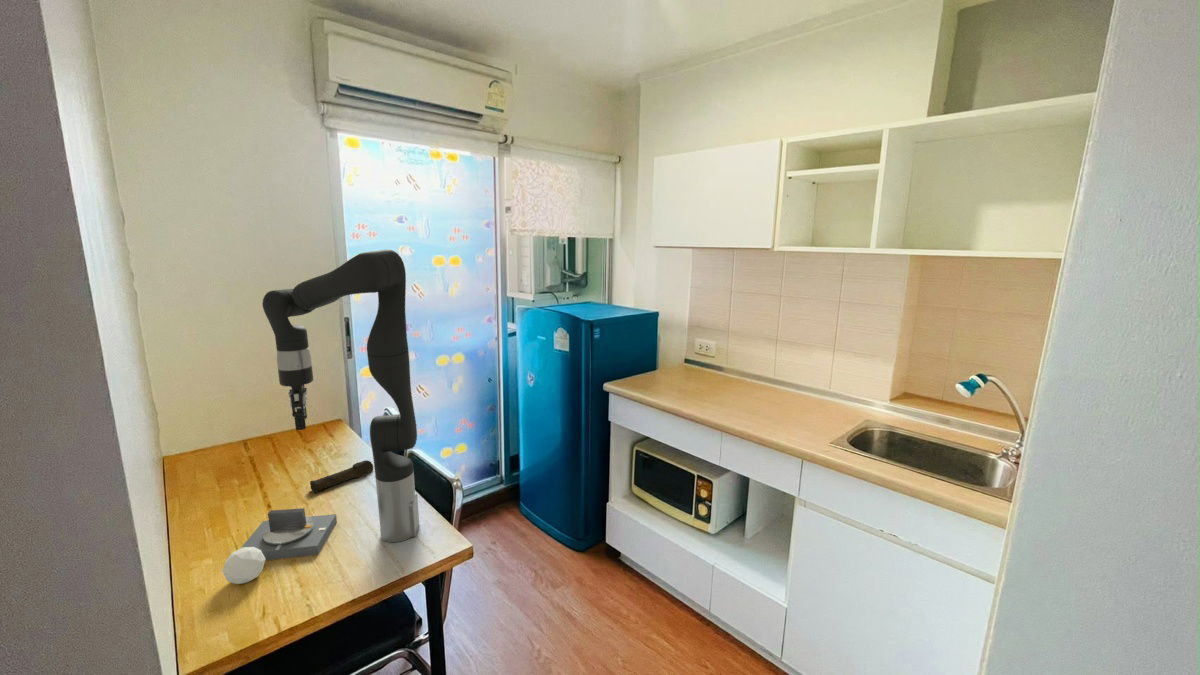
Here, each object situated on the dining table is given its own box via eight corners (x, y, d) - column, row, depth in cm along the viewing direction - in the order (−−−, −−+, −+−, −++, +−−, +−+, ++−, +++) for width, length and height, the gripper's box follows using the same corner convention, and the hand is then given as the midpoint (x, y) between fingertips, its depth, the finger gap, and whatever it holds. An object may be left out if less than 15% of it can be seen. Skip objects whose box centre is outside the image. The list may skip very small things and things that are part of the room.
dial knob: (276, 521, 127) (274, 500, 126) (320, 518, 129) (318, 498, 128) (254, 547, 117) (250, 525, 115) (302, 543, 118) (299, 521, 117)
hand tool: (314, 495, 145) (313, 482, 144) (310, 491, 148) (308, 477, 147) (376, 474, 159) (375, 461, 158) (371, 470, 162) (370, 457, 161)
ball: (253, 592, 109) (249, 581, 104) (217, 583, 108) (210, 571, 103) (274, 559, 115) (271, 547, 110) (240, 550, 114) (235, 537, 108)
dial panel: (336, 522, 132) (335, 513, 131) (318, 554, 118) (317, 544, 118) (264, 529, 128) (263, 520, 128) (237, 563, 115) (235, 553, 114)
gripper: (311, 370, 119) (317, 430, 123) (312, 358, 131) (318, 413, 135) (275, 373, 116) (283, 436, 119) (280, 361, 128) (286, 417, 131)
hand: (301, 424), depth 127 cm, fingers open, 8 cm apart
